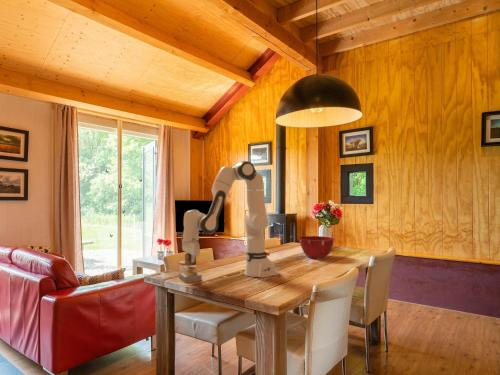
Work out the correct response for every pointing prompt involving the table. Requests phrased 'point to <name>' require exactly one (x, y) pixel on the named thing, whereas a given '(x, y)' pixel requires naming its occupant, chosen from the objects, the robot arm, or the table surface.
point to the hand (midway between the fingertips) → (190, 260)
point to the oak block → (190, 270)
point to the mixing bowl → (316, 246)
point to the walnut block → (189, 260)
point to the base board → (190, 277)
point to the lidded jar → (182, 265)
